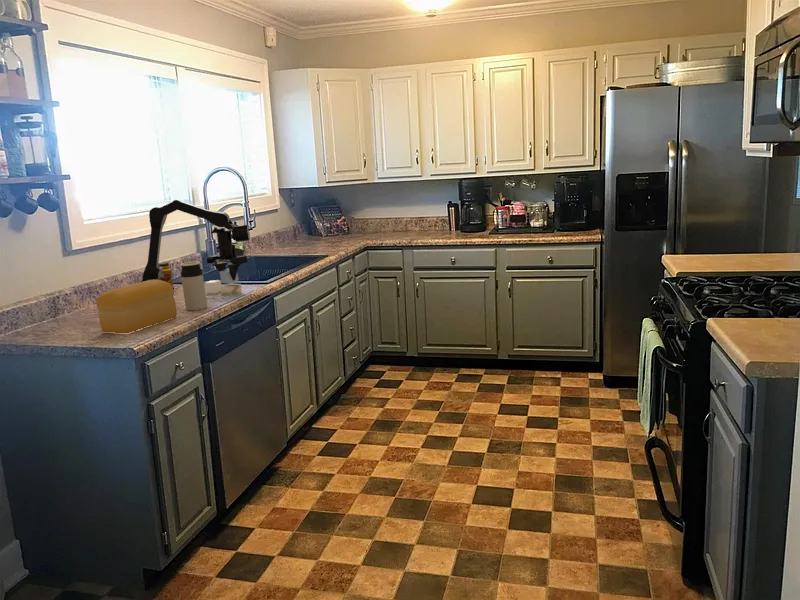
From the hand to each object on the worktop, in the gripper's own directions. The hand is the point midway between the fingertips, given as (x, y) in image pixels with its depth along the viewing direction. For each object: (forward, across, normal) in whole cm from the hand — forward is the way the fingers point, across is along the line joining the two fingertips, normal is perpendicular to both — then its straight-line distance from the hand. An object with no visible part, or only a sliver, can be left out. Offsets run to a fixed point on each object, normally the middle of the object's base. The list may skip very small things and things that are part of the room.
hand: (229, 279), depth 281 cm
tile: (+6, -4, +4) cm, 8 cm away
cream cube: (+6, +12, -1) cm, 14 cm away
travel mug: (+6, -6, +24) cm, 26 cm away
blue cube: (+1, 0, 0) cm, 1 cm away
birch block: (+6, 0, 0) cm, 6 cm away
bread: (+7, -5, +49) cm, 50 cm away
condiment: (+7, +44, -1) cm, 45 cm away
